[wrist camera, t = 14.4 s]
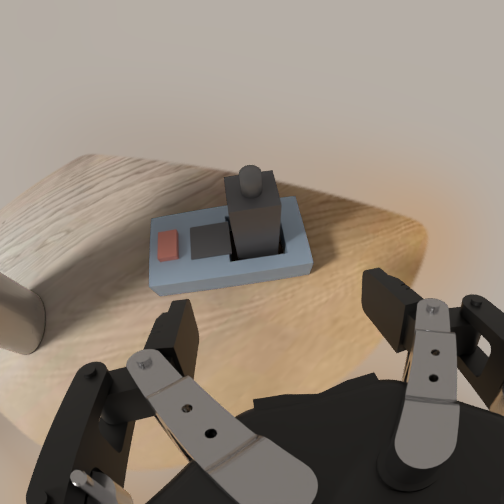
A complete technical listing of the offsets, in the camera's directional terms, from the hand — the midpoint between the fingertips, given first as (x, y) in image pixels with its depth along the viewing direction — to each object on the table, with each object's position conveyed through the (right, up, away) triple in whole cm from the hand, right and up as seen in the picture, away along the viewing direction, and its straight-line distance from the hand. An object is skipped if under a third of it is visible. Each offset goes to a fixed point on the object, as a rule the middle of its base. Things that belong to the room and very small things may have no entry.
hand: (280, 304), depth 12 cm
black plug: (-1, +3, +18) cm, 18 cm away
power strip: (-4, +2, +18) cm, 18 cm away
